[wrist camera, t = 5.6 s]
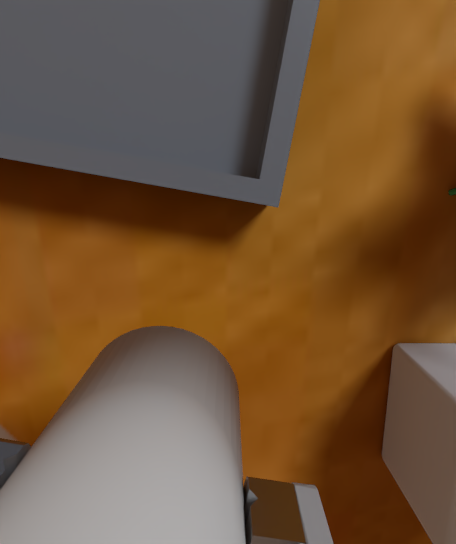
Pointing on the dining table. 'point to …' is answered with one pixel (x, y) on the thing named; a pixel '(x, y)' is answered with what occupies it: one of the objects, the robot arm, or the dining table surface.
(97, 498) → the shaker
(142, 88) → the tray
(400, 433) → the medicine bottle
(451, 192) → the lily
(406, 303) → the dining table surface
